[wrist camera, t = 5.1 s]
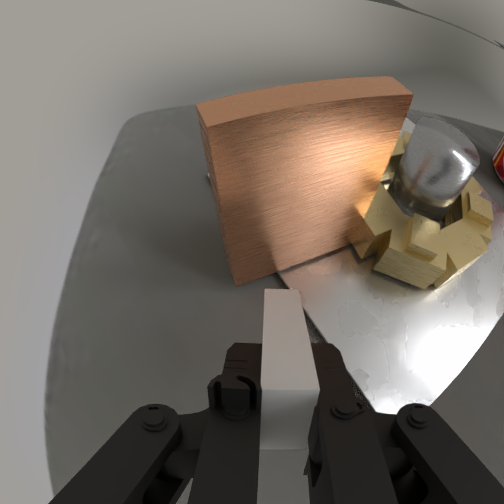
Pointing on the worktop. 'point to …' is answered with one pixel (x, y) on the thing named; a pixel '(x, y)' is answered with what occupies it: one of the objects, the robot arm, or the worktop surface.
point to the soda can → (499, 160)
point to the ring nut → (328, 182)
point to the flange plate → (408, 286)
